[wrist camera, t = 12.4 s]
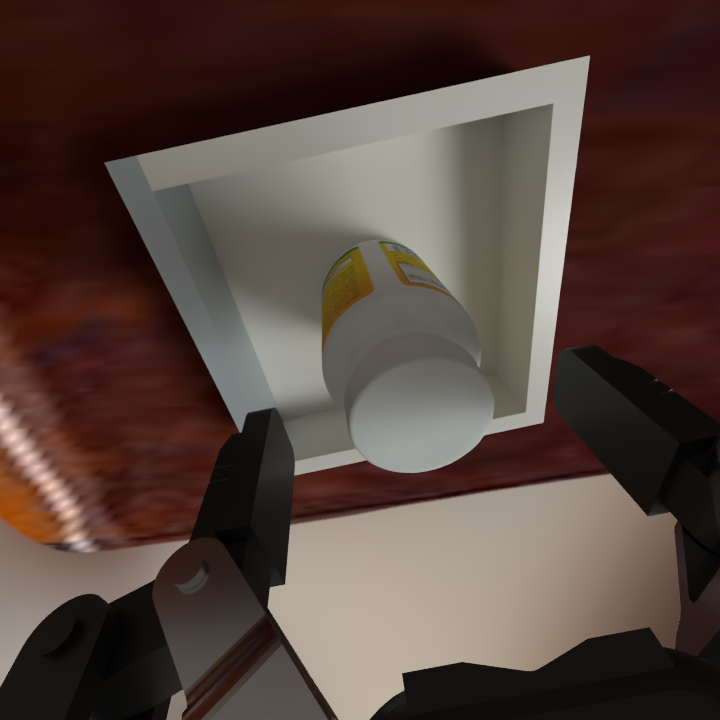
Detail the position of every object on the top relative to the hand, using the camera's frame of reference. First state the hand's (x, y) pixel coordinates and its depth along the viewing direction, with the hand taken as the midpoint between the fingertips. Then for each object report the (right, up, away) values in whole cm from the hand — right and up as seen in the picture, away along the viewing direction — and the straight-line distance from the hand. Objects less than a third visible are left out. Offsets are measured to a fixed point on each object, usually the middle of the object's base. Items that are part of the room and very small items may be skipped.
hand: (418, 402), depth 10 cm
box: (-1, +5, +8) cm, 9 cm away
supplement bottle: (-1, +5, +8) cm, 9 cm away
